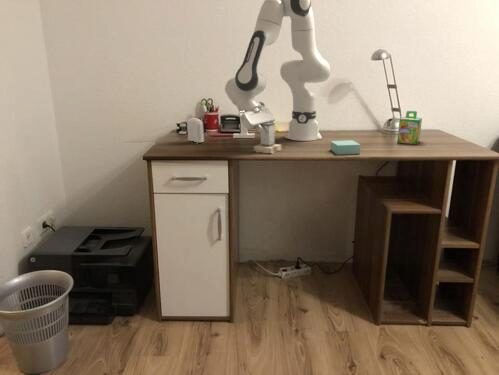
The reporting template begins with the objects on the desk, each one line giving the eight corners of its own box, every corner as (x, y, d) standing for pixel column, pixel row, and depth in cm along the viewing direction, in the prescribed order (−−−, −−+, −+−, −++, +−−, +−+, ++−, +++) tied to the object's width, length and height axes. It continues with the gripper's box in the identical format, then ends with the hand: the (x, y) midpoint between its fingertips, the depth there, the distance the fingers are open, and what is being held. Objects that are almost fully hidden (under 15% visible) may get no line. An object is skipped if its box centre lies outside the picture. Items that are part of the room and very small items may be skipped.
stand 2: (330, 149, 193) (331, 141, 191) (352, 149, 194) (352, 140, 192) (337, 154, 183) (337, 145, 182) (359, 153, 184) (360, 144, 183)
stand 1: (264, 148, 199) (264, 142, 198) (281, 150, 194) (281, 144, 193) (253, 151, 192) (253, 146, 191) (270, 153, 187) (270, 148, 186)
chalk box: (397, 143, 204) (399, 112, 200) (400, 139, 212) (402, 109, 208) (417, 144, 200) (420, 112, 196) (419, 141, 208) (423, 110, 204)
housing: (266, 144, 195) (265, 122, 192) (274, 145, 193) (274, 123, 190) (260, 145, 192) (260, 123, 189) (269, 146, 189) (269, 124, 186)
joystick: (233, 139, 222) (232, 100, 216) (234, 136, 229) (233, 98, 223) (254, 138, 221) (254, 99, 216) (254, 136, 229) (254, 98, 223)
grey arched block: (186, 141, 218) (185, 117, 214) (194, 140, 221) (192, 116, 217) (197, 144, 210) (196, 119, 207) (205, 143, 213) (203, 118, 209)
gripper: (240, 107, 182) (260, 131, 180) (266, 102, 199) (284, 124, 196) (232, 116, 186) (251, 141, 184) (258, 111, 202) (276, 133, 200)
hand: (268, 132), depth 190 cm, fingers closed on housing, 4 cm apart
